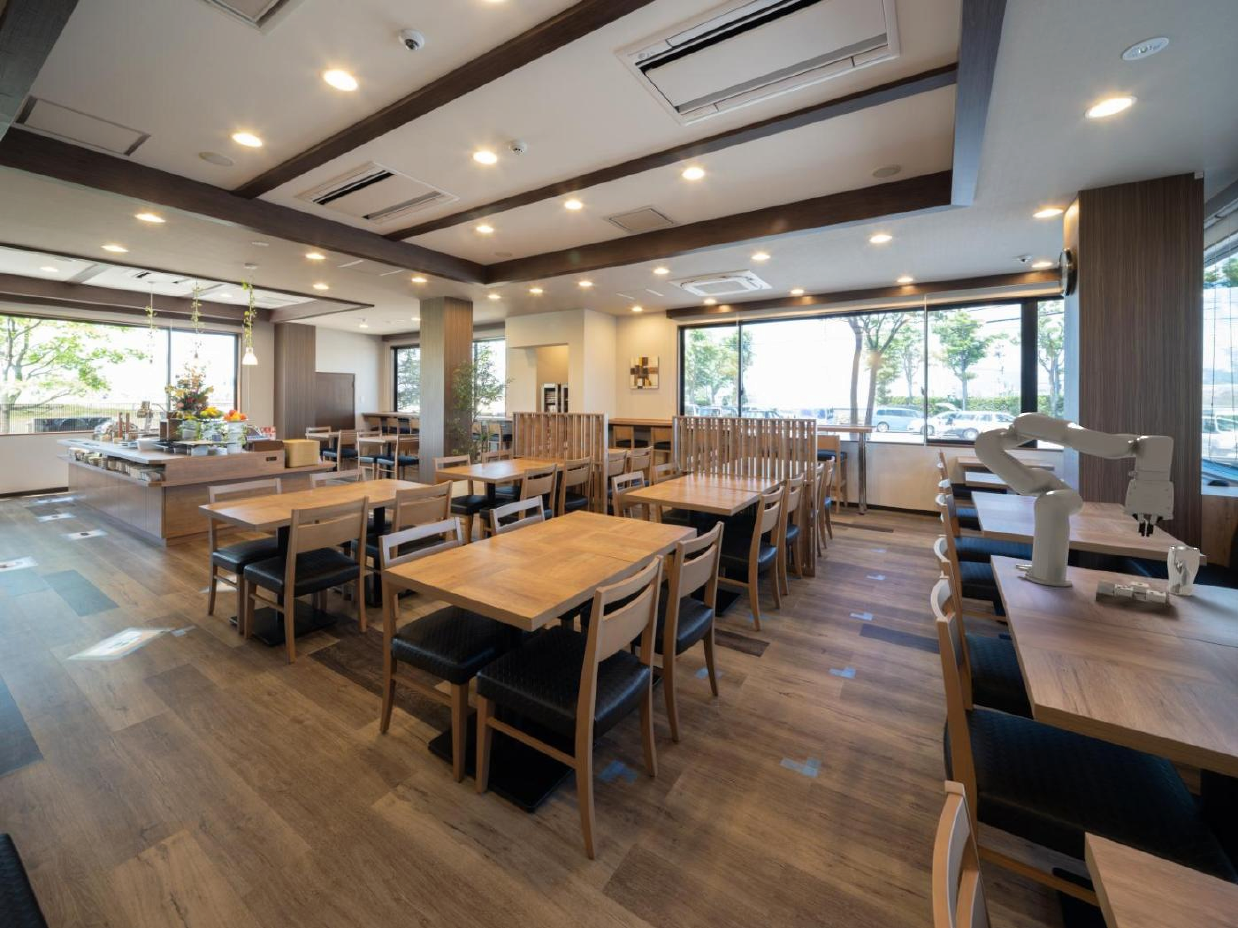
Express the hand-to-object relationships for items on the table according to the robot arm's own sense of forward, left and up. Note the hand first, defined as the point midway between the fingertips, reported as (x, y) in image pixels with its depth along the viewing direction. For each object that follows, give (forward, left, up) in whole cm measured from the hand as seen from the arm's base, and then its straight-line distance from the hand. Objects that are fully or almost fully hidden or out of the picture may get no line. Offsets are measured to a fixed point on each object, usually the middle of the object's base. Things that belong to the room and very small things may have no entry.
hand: (1145, 535), depth 160 cm
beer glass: (+10, +20, -21) cm, 31 cm away
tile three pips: (-3, -4, -19) cm, 20 cm away
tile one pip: (0, +3, -19) cm, 19 cm away
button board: (-1, -1, -21) cm, 21 cm away
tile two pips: (+4, -4, -19) cm, 20 cm away
